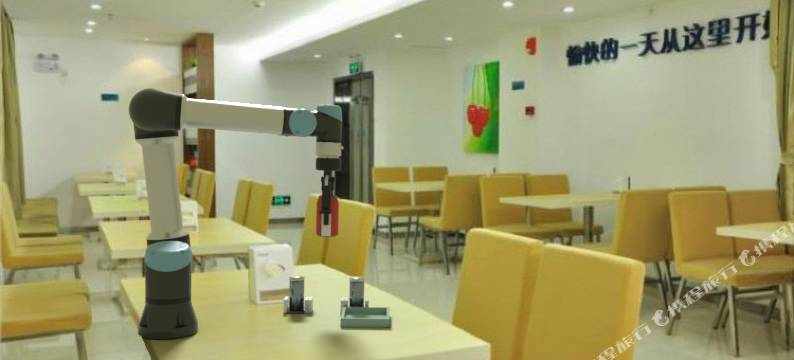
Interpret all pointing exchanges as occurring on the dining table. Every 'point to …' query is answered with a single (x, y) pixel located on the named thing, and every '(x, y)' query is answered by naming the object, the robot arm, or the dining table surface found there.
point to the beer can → (334, 216)
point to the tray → (365, 317)
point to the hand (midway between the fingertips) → (327, 234)
